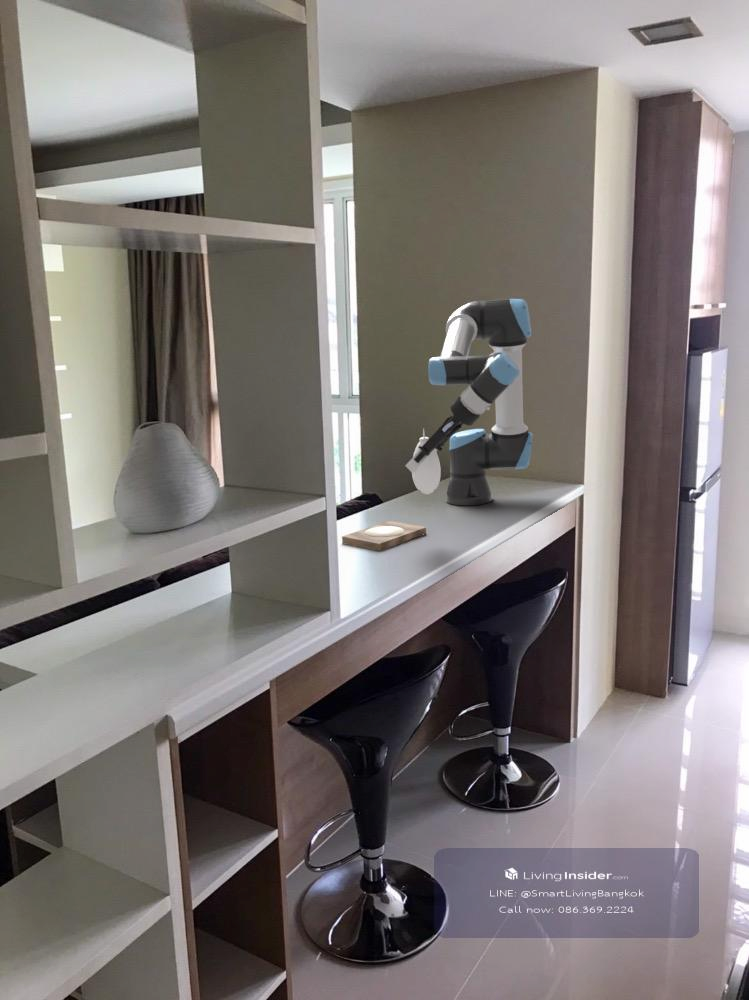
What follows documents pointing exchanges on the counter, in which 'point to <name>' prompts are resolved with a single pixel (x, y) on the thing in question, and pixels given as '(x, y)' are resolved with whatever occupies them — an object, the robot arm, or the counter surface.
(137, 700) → the counter surface
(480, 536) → the counter surface
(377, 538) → the walnut board
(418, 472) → the white pear with stem
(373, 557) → the counter surface
